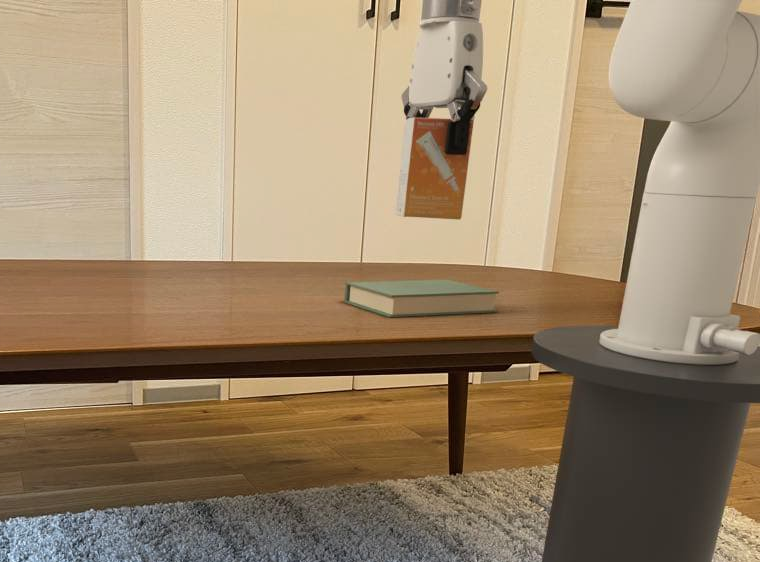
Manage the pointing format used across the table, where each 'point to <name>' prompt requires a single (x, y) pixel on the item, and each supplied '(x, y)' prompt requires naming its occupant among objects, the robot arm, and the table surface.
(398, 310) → the book
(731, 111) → the robot arm
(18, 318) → the table surface
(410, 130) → the small box
